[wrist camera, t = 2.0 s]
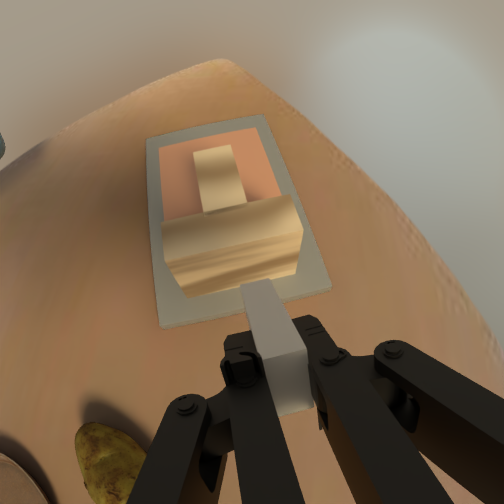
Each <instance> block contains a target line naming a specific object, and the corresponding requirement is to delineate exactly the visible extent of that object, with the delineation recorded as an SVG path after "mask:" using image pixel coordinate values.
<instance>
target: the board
mask: <svg viewBox="0 0 504 504" xmlns="http://www.w3.org/2000/svg"><path fill="white" fill-rule="evenodd" d="M225 145H231V148H232V152H233V155H234V158H235V162H236V165H237V169H238V172H239V176H240V179H241V183H242V186H243V189H244V193H245V196H246V200H247V203H248V202H253V201H257V200H262V199H267V198H272V197H277V196H282V195H287V194H290V195H291V198H292V200H293V203H294V205H295V208H296V211H297V213H298V216H299V219H300V221H301V224H302V227H303V229H304V231H303V236H302V242H301V247H300V252H299V257H298V263H297V268H296V273H295V274H292V275H288V276H284V277H280V278H276V279H271V280H270V281H271V282H272V284H273V286H274V288H275V290H276V292H277V294H278V295H279V297H280V299H281V301H282V303H286V302H290V301H294V300H298V299H302V298H306V297H309V296H313V295H317V294H321V293H325V292H328V291H330V290H331V288H332V284H331V281H330V278H329V276H328V273H327V270H326V267H325V265H324V262H323V259H322V256H321V254H320V251H319V248H318V246H317V243H316V240H315V238H314V235H313V232H312V230H311V227H310V225H309V222H308V219H307V217H306V214H305V212H304V209H303V207H302V204H301V202H300V199H299V197H298V194H297V192H296V189H295V187H294V184H293V182H292V179H291V177H290V175H289V172H288V170H287V167H286V165H285V163H284V160H283V158H282V156H281V153H280V151H279V148H278V146H277V144H276V142H275V139H274V137H273V135H272V132H271V130H270V128H269V126H268V123H267V121H266V119H265V117H264V114H261V115H254V116H248V117H243V118H237V119H232V120H226V121H221V122H216V123H211V124H206V125H202V126H197V127H192V128H188V129H184V130H179V131H175V132H171V133H167V134H163V135H159V136H155V137H151V138H148V139H146V170H147V195H148V214H149V229H150V242H151V254H152V264H153V274H154V284H155V293H156V301H157V309H158V317H159V324H160V327H161V328H163V329H169V328H174V327H179V326H184V325H189V324H194V323H199V322H203V321H208V320H213V319H217V318H222V317H226V316H231V315H235V314H240V313H244V312H246V311H245V307H244V303H243V298H242V294H241V290H240V287H237V288H232V289H228V290H224V291H219V292H215V293H210V294H206V295H201V296H196V297H192V298H187V297H186V295H185V294H184V292H183V291H182V289H181V287H180V286H179V284H178V283H177V281H176V279H175V278H174V276H173V274H172V273H171V271H170V269H169V268H168V266H167V264H166V263H165V260H164V251H163V242H162V232H161V222H164V221H168V220H172V219H176V218H181V217H185V216H189V215H194V214H198V213H202V212H203V207H202V201H201V196H200V190H199V185H198V179H197V173H196V167H195V162H194V156H193V152H197V151H201V150H206V149H210V148H215V147H220V146H225Z"/></svg>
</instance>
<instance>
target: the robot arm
mask: <svg viewBox="0 0 504 504" xmlns="http://www.w3.org/2000/svg"><path fill="white" fill-rule="evenodd" d="M4 152H5V143H4V140H3V138H2V136H1V133H0V159H1V157H2V156H3V155H4ZM240 290H241V294H242V298H243V303H244V307H245V311H246V316H247V320H248V324H249V329H250V330H249V331H245V332H241V333H236V334H232V335H228V336H227V338H226V339H225V341H224V350H225V357H224V358H223V359H222V361H221V363H220V368H221V371H222V374H223V378H224V381H225V384H226V387H225V388H224V389H223V390H222V391H221V392H220V393H218V394H217V395H215V396H213V397H210V398H208V399H206V400H205V398H204V397H202V396H200V395H197V394H187V395H183V396H180V397H178V398H176V399H175V400H173V401H172V402H171V403H170V405H169V406H168V407H167V410H166V412H165V414H164V417H163V419H162V421H161V423H160V426H159V428H158V430H157V433H156V435H155V437H154V439H153V442H152V444H151V446H150V449H149V451H148V453H147V456H146V458H145V460H144V463H143V465H142V467H141V470H140V472H139V474H138V477H137V479H136V481H135V484H134V486H133V488H132V491H131V493H130V495H129V498H128V500H127V502H126V504H218V500H219V495H220V490H221V485H222V481H223V476H224V471H225V466H226V461H227V457H228V456H227V453H228V452H230V451H233V450H234V452H235V459H236V466H237V473H238V480H239V486H240V493H241V499H242V504H305V501H304V498H303V495H302V492H301V489H300V486H299V482H298V479H297V476H296V473H295V470H294V466H293V463H292V460H291V457H290V454H289V450H288V447H287V444H286V441H285V437H284V434H283V431H282V428H281V424H280V421H279V418H278V417H280V416H284V415H288V414H292V413H295V412H299V411H303V410H306V409H310V408H313V407H314V402H313V399H314V401H315V404H316V406H317V413H318V422H319V430H322V427H323V429H324V432H325V434H326V436H327V438H328V441H329V443H330V445H331V448H332V450H333V452H334V454H335V457H336V459H337V461H338V463H339V466H340V468H341V470H342V473H343V475H344V477H345V479H346V482H347V484H348V486H349V488H350V491H351V493H352V495H353V497H354V500H355V502H356V504H454V503H453V501H452V500H451V498H450V497H449V495H448V494H447V492H446V491H445V489H444V488H443V486H442V485H441V483H440V482H439V480H438V479H437V478H436V476H435V475H434V473H433V472H432V470H431V469H430V467H429V466H428V464H427V463H426V461H425V460H424V458H423V457H422V456H421V454H420V453H419V451H420V452H421V453H422V454H423V455H424V456H426V457H427V458H428V459H429V460H431V461H432V462H433V463H434V464H435V465H437V466H438V467H439V468H440V469H442V470H443V471H444V472H445V473H447V474H448V475H449V476H450V477H451V478H453V479H454V480H455V481H456V482H458V483H459V484H460V485H462V486H463V487H464V488H465V489H467V490H468V491H469V492H470V493H472V494H473V495H474V496H476V497H477V498H478V499H479V500H481V501H482V502H483V503H485V504H504V399H503V398H501V397H499V396H498V395H496V394H494V393H493V392H491V391H489V390H487V389H486V388H484V387H482V386H481V385H479V384H477V383H475V382H474V381H472V380H470V379H468V378H467V377H465V376H463V375H462V374H460V373H458V372H456V371H455V370H453V369H451V368H449V367H448V366H446V365H444V364H443V363H441V362H439V361H437V360H436V359H434V358H432V357H430V356H429V355H427V354H425V353H424V352H422V351H420V350H418V349H417V348H415V347H413V346H412V345H410V344H408V343H406V342H403V341H400V340H389V341H385V342H383V343H380V344H379V345H378V346H377V347H376V348H375V350H374V355H368V356H351V354H350V353H349V352H348V351H347V350H345V349H342V348H339V347H337V346H336V344H335V343H334V341H333V340H332V338H331V337H330V335H329V334H328V333H327V331H326V330H325V328H324V327H323V326H322V324H321V322H320V321H319V320H318V319H317V318H315V317H313V316H311V315H306V316H302V317H298V318H294V319H291V318H290V316H289V314H288V312H287V310H286V309H285V307H284V305H283V303H282V301H281V299H280V297H279V295H278V294H277V292H276V290H275V288H274V286H273V284H272V282H271V281H270V279H269V278H267V279H262V280H258V281H254V282H249V283H245V284H241V285H240Z"/></svg>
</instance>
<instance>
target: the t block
mask: <svg viewBox="0 0 504 504" xmlns="http://www.w3.org/2000/svg"><path fill="white" fill-rule="evenodd" d="M193 156H194V162H195V167H196V173H197V179H198V185H199V190H200V196H201V201H202V207H203V212H202V213H198V214H194V215H189V216H185V217H181V218H176V219H172V220H168V221H164V222H161V232H162V242H163V251H164V260H165V263H166V264H167V266H168V268H169V269H170V271H171V273H172V274H173V276H174V278H175V279H176V281H177V283H178V284H179V286H180V287H181V289H182V291H183V292H184V294H185V295H186V297H187V298H192V297H196V296H201V295H206V294H210V293H215V292H219V291H224V290H228V289H232V288H237V287H240V285H241V284H245V283H249V282H254V281H258V280H262V279H267V278H269V279H270V280H271V279H276V278H280V277H284V276H288V275H292V274H295V273H296V268H297V263H298V257H299V252H300V247H301V242H302V236H303V231H304V229H303V227H302V224H301V221H300V219H299V216H298V213H297V211H296V208H295V205H294V203H293V200H292V198H291V195H290V194H287V195H282V196H277V197H272V198H267V199H262V200H257V201H253V202H248V203H247V200H246V196H245V193H244V189H243V186H242V183H241V179H240V176H239V172H238V169H237V165H236V162H235V158H234V155H233V152H232V148H231V145H225V146H220V147H215V148H210V149H206V150H201V151H197V152H193Z"/></svg>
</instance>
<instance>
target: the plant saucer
mask: <svg viewBox="0 0 504 504" xmlns="http://www.w3.org/2000/svg"><path fill="white" fill-rule="evenodd" d="M0 504H51V503H50V502H49V500H48V498H47V496H46V495H45V493H44V492H43V490H42V489H41V488H40V486H39V485H38V484H37V482H36V481H35V480H34V479H33V478H32V477H31V476H30V474H29V473H28V472H27V471H25V470H24V469H23V468H22V467H21V466H20V465H19V464H17V463H16V462H15V461H13V460H12V459H10V458H9V457H7V456H6V455H4V454H2V453H0Z"/></svg>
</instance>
